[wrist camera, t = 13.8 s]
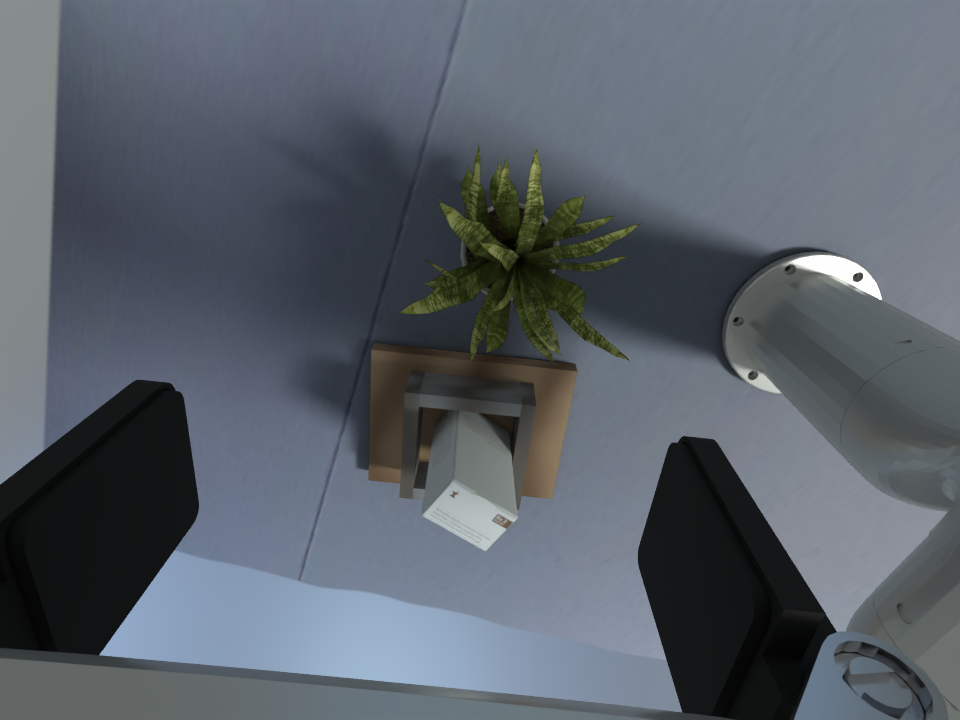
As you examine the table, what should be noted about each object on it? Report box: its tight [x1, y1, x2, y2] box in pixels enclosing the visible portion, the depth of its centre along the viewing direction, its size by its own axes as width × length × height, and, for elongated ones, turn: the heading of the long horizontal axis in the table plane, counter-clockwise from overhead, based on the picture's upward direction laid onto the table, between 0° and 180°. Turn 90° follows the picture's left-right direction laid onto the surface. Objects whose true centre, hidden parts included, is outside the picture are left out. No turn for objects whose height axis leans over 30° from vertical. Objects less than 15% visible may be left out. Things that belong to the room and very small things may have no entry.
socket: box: [369, 343, 577, 510], centre depth 50 cm, size 18×14×6 cm
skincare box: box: [422, 410, 517, 551], centre depth 46 cm, size 6×4×12 cm
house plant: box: [396, 145, 643, 365], centre depth 38 cm, size 14×14×16 cm
